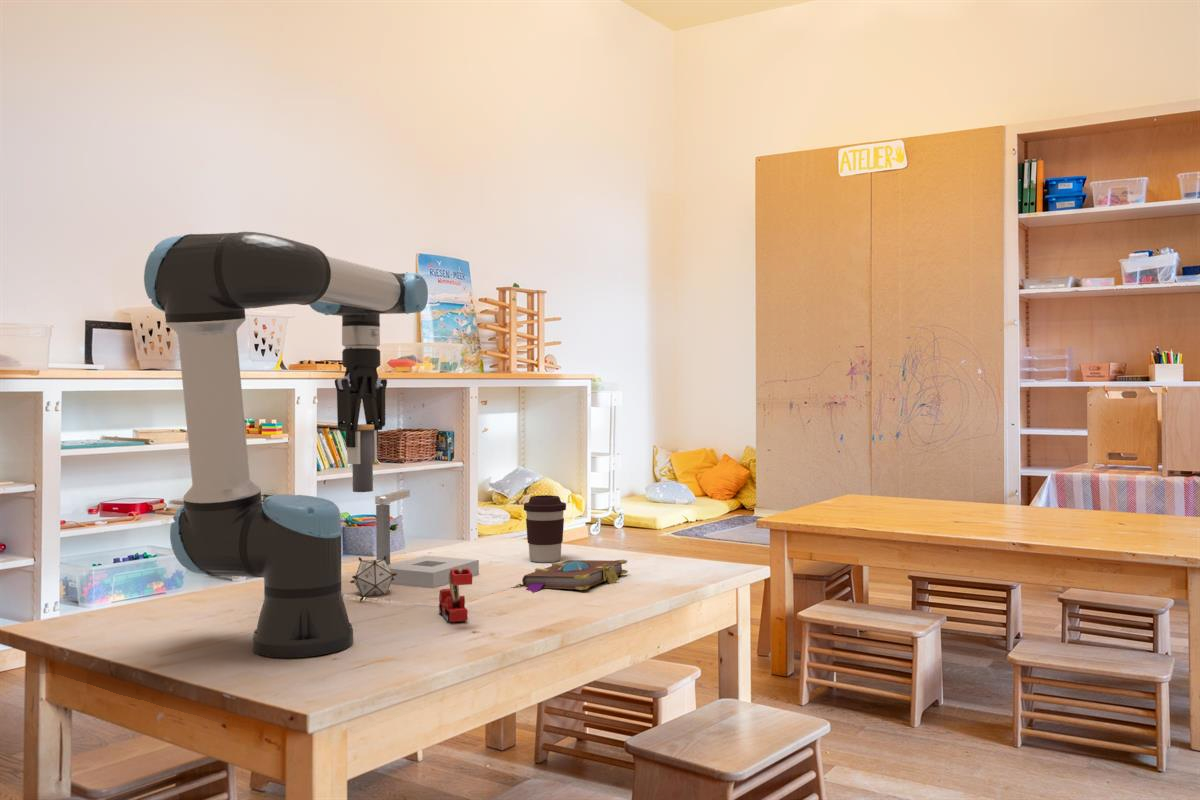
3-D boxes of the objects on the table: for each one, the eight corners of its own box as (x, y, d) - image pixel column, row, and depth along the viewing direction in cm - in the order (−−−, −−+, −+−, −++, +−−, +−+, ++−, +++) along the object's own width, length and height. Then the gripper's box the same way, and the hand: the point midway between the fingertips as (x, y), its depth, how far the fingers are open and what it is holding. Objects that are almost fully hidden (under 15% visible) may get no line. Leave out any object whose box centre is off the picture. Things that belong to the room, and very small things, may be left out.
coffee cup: (570, 563, 229) (569, 498, 229) (527, 564, 227) (527, 499, 226) (561, 556, 239) (561, 493, 238) (521, 557, 236) (520, 495, 236)
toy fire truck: (455, 611, 180) (455, 557, 180) (473, 627, 167) (472, 570, 167) (437, 612, 179) (437, 559, 179) (453, 629, 166) (453, 572, 166)
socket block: (433, 592, 196) (433, 572, 196) (377, 586, 202) (377, 567, 202) (478, 578, 210) (478, 560, 210) (425, 573, 216) (425, 555, 216)
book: (510, 597, 198) (508, 572, 198) (567, 576, 220) (566, 553, 220) (582, 599, 191) (581, 573, 191) (634, 577, 213) (633, 554, 213)
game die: (379, 619, 190) (382, 583, 184) (340, 602, 191) (342, 566, 185) (402, 589, 197) (406, 553, 191) (365, 572, 198) (367, 537, 192)
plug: (363, 492, 198) (363, 425, 198) (345, 491, 200) (344, 425, 200) (379, 490, 202) (379, 424, 202) (361, 489, 205) (361, 424, 204)
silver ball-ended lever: (413, 496, 225) (413, 489, 225) (387, 504, 210) (387, 497, 210) (399, 496, 226) (399, 489, 225) (372, 504, 210) (372, 497, 210)
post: (385, 581, 208) (384, 506, 208) (366, 579, 210) (365, 505, 210) (400, 577, 213) (399, 504, 213) (381, 575, 215) (381, 503, 215)
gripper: (346, 345, 191) (347, 466, 192) (403, 348, 207) (404, 460, 207) (316, 346, 195) (317, 465, 195) (374, 349, 210) (375, 459, 211)
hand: (362, 462), depth 201 cm, fingers closed on plug, 4 cm apart
